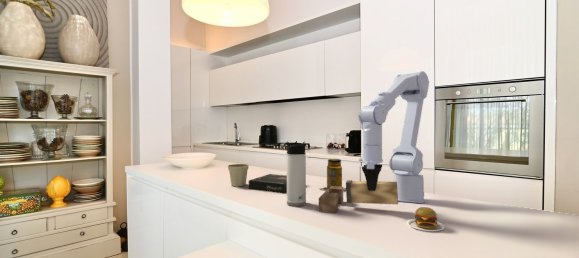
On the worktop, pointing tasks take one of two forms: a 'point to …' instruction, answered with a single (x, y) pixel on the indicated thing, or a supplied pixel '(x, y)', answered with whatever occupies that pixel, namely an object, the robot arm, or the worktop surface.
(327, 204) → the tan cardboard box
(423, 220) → the hamburger
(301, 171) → the travel mug
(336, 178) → the condiment
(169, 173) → the worktop surface
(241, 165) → the flower pot
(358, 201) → the rail
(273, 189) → the portable cd player
